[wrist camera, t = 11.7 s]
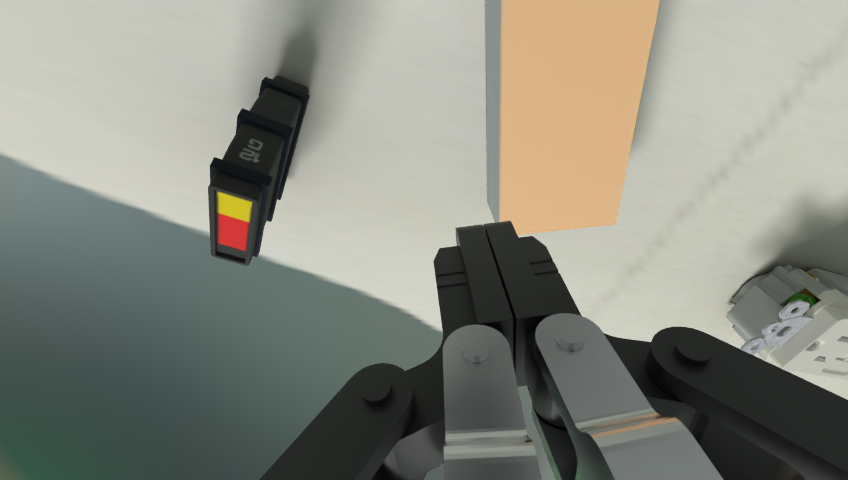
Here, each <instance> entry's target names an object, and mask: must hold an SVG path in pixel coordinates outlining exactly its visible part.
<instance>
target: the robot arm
mask: <svg viewBox="0 0 848 480" xmlns="http://www.w3.org/2000/svg"><path fill="white" fill-rule="evenodd" d="M456 241H457V246H454V247H447V248H440V249H439V251H438V253H437V255H436V257H435V260H434V268H435V275H436V283H437V291H438V298H439V306H440V313H441V321H442V328H443V341H442V344H441V346H440V348H439V349H438V351H437V352H436V353H435V355H434V356H432V358H430V359H429V360H428V361H426V362H424V363H422V364H420V365H418V366H416V367H414V368H411V369H409V370H407V371H404V370H403V369H401V368H399V367H398V366H395V365H392V364H386V363H381V364H374V365H370V366H368V367H365V368H363V369H362V370H360V371H358V372H357V373H356V374H355V375H354V376H353V377H352V378H351V379H350V380H349V381H348V382H347V383H346V384H345V385H344V386H343V388H342V389H341V390H340V391H339V392H338V393H337V394H336V395H335V397H333V399H332V400H331V401H330V402H329V403H328V404H327V405H326V406H325V408H324V409H323V410H322V411H321V412H320V413H319V414H318V415H317V416H316V418H315V419H314V420H313V421H312V422H311V423H310V424H309V425H308V427H307V428H306V429H305V430H304V431H303V432H302V433H301V434H300V435H299V437H298V438H297V439H296V440H295V441H294V442H293V443H292V444H291V445H290V446H289V448H288V449H287V450H286V451H285V452H284V453H283V454H282V455H281V457H280V458H279V459H278V460H277V461H276V462H275V463H274V464H273V465H272V466H271V468H270V469H269V470H268V471H267V472H266V473H265V474H264V475H263V477H262V478H261V479H260V480H424V478H425V476H426V474H427V472H428V471H430V470H432V469H434V468H436V467H438V466H440V465H442V464H444V480H542V479H541V475H540V470H539V465H538V460H537V455H536V451H535V448H534V445H533V442H532V440H531V439H529V437H528V435H527V431H526V426H525V421H524V416H523V411H522V406H521V401H520V396H519V391H518V386H526V385H527V387H528V390H529V394H530V397H531V416H532V419H533V422H534V425H535V427H536V430H537V433H538V435H539V438H540V440H541V443H542V446H543V448H544V451H545V453H546V456H547V459H548V461H549V464H550V467H551V469H552V472H553V474H554V477H555V479H556V480H848V400H846V399H844V398H842V397H840V396H838V395H836V394H834V393H832V392H829V391H827V390H825V389H823V388H821V387H819V386H817V385H815V384H813V383H810V382H808V381H806V380H804V379H802V378H800V377H798V376H796V375H793V374H791V373H789V372H787V371H785V370H783V369H781V368H779V367H776V366H774V365H772V364H770V363H768V362H766V361H764V360H762V359H760V358H757V357H755V356H753V355H751V354H749V353H747V352H745V351H743V350H740V349H738V348H736V347H734V346H732V345H730V344H728V343H726V342H723V341H721V340H719V339H717V338H715V337H713V336H711V335H709V334H706V333H704V332H702V331H699V330H696V329H692V328H687V327H670V328H666V329H663V330H661V331H659V332H658V333H657V334H655V336H654V337H653V339H652V342H645V341H637V340H630V339H622V338H617V337H613V336H609V335H607V334H604V333H603V332H602V331H601V329H600V328H599V327H598V326H597V325H596V324H595V323H593V322H592V321H590V320H589V319H587V318H585V317H582V316H581V314H580V312H579V310H578V308H577V306H576V304H575V302H574V300H573V299H572V297H571V295H570V293H569V291H568V289H567V287H566V285H565V283H564V281H563V279H562V277H561V275H560V273H558V269H557V267H556V265H555V263H554V262H553V260H552V258H551V256H550V254H549V252H548V250H547V248H546V246H545V245H543V244H542V243H541V242H539V241H538V240H537V239H535V238H534V237H533V236H529V237H521V238H518V236H517V233H516V231H515V229H514V226H513V224H512V222H511V221H504V222H496V223H489V224H484V225H474V226H467V227H459V228H456Z"/></svg>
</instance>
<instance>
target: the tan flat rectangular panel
mask: <svg viewBox="0 0 848 480" xmlns="http://www.w3.org/2000/svg"><path fill="white" fill-rule="evenodd" d="M659 3H660V0H501V39H500V157H499V222H504V221H511V222H512V224H513V226H514V229H515V231H516V233H517V235H521V234H530V233H539V232H549V231H558V230H568V229H577V228H586V227H596V226H605V225H614V224H616V220H617V214H618V209H619V204H620V199H621V194H622V189H623V184H624V179H625V174H626V169H627V164H628V159H629V154H630V149H631V144H632V139H633V134H634V129H635V124H636V119H637V114H638V109H639V104H640V99H641V94H642V89H643V84H644V78H645V73H646V68H647V63H648V58H649V53H650V48H651V43H652V38H653V33H654V28H655V23H656V18H657V13H658V8H659Z"/></svg>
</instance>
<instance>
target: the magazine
mask: <svg viewBox="0 0 848 480" xmlns="http://www.w3.org/2000/svg"><path fill="white" fill-rule="evenodd" d="M308 93H309V91H308V88H306V87H305V86H302V85H300V84H297V83H295V82H292V81H290V80H287V79H285V78H282V77H280V76H275V78H274V79H273V80H272V79H269V78H267V77H265V78H264V79H263V80H262V83H261V88H260V93H259V98H258V99H257V100H256V102H255V103H254V105H253V107H252V108H251V110H250V111H248V110H245V109H242V110H241V111H240V113H239V115H238V116H237V128H236V135H235V137H234V138H233V140H232V142H231V143H230V145H229V147H228V149H227V151H226V153H225V155H224V157H223V159H222V160H221V159H218V158H214V159H213V161H212V163H211V165H210V185H209V187H208V196H209V219H210V243H211V255H212V256H214V257H217V258H220V259H224V260H228V261H232V262H235V263H238V264H242V265H249V264H250V261H251V259H252V256H255V257H257V256H258V254H259V251H260V247H261V241H262V236H263V230H264V226H265V223H266V221H270V222H271V220H272V218H273V214H274V210H275V205H276V201H277V199H278V200H280V199H281V197H282V193H283V190H284V186H285V182H286V179H287V175H288V172H289V168H290V165H291V161H292V157H293V154H294V150H295V147H296V143H297V139H298V136H299V132H300V129H301V125H302V121H303V118H304V114H305V111H306V107H307V103H308V100H309V96H310V95H309V94H308Z"/></svg>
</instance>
